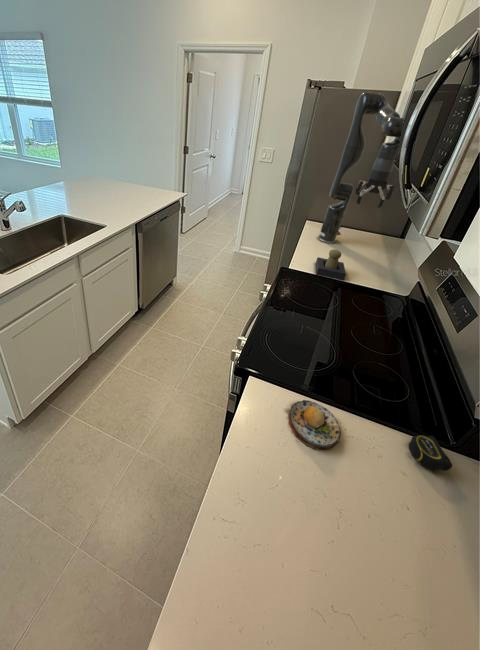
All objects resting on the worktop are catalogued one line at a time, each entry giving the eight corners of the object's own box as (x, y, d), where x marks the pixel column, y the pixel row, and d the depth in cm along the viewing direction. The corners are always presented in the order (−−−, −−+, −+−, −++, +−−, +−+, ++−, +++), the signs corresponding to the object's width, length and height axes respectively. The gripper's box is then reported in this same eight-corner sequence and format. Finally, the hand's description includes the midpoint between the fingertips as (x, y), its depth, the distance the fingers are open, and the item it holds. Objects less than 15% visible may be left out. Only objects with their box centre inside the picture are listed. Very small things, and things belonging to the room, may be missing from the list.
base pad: (315, 263, 152) (317, 257, 150) (341, 268, 149) (343, 262, 148) (316, 274, 142) (318, 267, 140) (343, 280, 139) (346, 273, 138)
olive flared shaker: (333, 269, 148) (340, 248, 143) (337, 275, 143) (345, 254, 138) (320, 267, 148) (327, 247, 143) (324, 273, 143) (331, 252, 138)
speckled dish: (348, 448, 70) (360, 428, 66) (301, 453, 68) (310, 433, 64) (321, 402, 80) (330, 383, 77) (279, 406, 78) (286, 386, 74)
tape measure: (448, 474, 67) (457, 465, 65) (417, 471, 67) (425, 461, 65) (428, 443, 73) (436, 434, 71) (400, 441, 73) (407, 431, 71)
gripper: (397, 170, 134) (383, 206, 142) (362, 165, 137) (350, 200, 145) (402, 173, 128) (386, 210, 136) (365, 168, 131) (352, 205, 139)
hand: (367, 205), depth 140 cm, fingers open, 8 cm apart
